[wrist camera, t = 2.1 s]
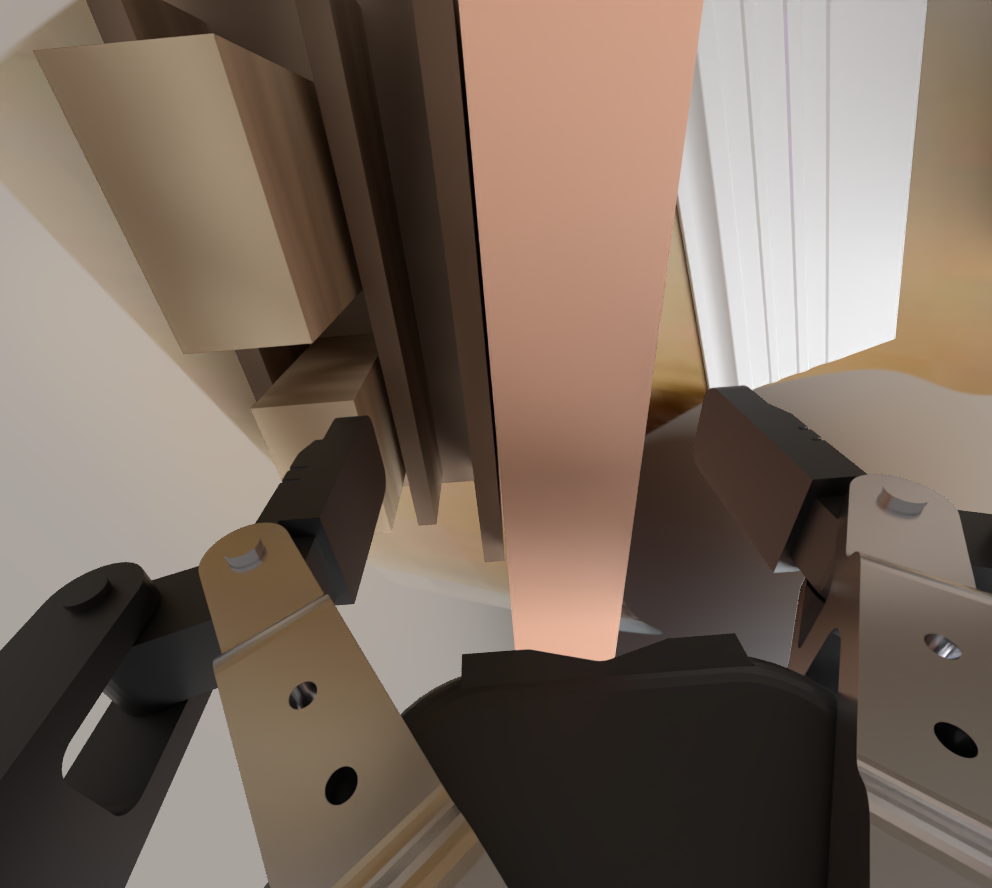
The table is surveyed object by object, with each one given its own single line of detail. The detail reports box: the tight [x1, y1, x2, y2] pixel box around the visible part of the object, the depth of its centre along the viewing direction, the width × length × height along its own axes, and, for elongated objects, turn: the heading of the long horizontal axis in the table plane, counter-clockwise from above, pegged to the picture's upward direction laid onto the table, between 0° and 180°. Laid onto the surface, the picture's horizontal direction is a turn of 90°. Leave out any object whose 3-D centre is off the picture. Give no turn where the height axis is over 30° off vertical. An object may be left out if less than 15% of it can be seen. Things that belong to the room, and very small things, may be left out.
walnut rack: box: [86, 0, 505, 562], centre depth 20 cm, size 16×24×10 cm, turn 4°
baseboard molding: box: [676, 0, 928, 390], centre depth 19 cm, size 31×3×12 cm
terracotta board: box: [458, 0, 704, 661], centre depth 15 cm, size 2×20×18 cm, turn 4°
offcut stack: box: [33, 33, 406, 534], centre depth 18 cm, size 4×17×10 cm, turn 4°
